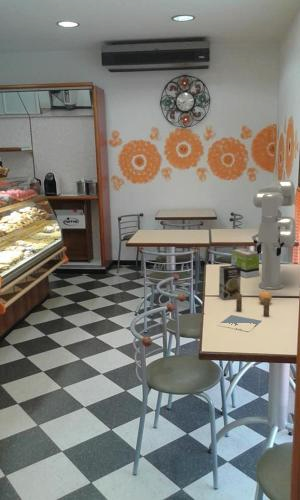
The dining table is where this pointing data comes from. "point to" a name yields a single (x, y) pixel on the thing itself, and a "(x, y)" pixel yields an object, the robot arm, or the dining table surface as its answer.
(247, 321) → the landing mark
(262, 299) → the ball
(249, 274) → the tea box
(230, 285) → the coffee box
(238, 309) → the post
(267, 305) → the post
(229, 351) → the dining table surface
